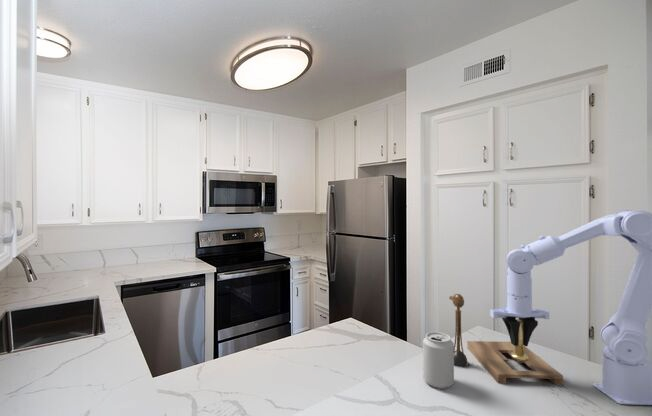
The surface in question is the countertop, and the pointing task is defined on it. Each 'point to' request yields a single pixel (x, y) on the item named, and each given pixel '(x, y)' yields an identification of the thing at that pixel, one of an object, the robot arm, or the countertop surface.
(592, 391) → the countertop surface
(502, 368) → the keyhole plate
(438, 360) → the can
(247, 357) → the countertop surface
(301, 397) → the countertop surface
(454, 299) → the wooden tabletop sculpture
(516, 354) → the peg
